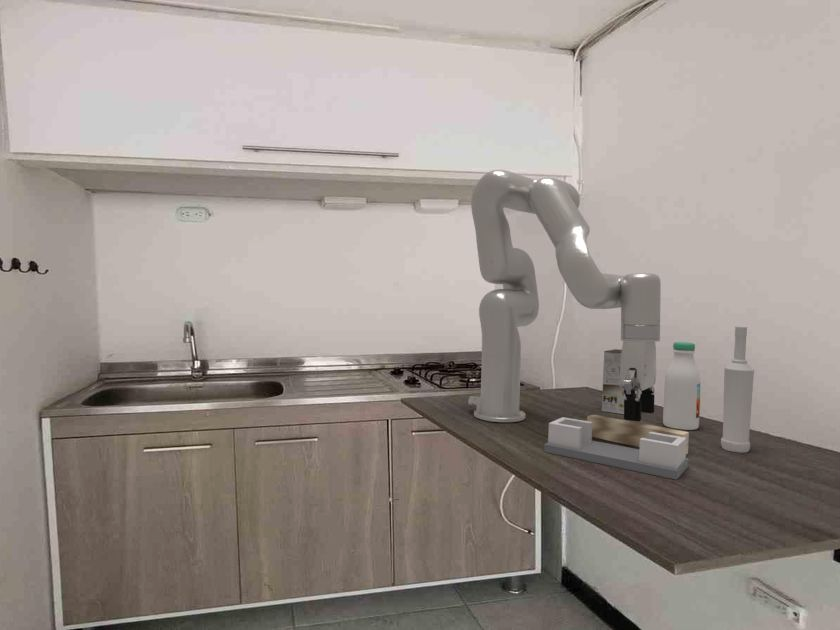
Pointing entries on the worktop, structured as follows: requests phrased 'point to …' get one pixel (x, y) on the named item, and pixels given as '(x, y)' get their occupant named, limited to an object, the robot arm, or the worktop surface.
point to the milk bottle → (682, 389)
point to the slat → (628, 430)
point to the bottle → (737, 398)
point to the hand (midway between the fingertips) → (639, 416)
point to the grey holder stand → (618, 449)
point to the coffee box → (612, 383)
